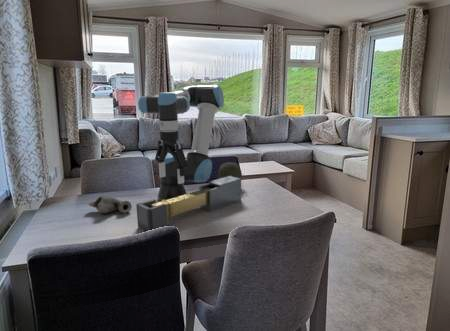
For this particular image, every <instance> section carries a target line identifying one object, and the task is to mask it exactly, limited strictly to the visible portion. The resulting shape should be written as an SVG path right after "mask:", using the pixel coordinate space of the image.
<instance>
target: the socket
mask: <svg viewBox="0 0 450 331" xmlns="http://www.w3.org/2000/svg"><path fill="white" fill-rule="evenodd" d="M155 203H157V200H156V199H155V198H153V199H149V200H144V201H142V202H138V203H136V204H135V206H136V217H137V218H136V219H137V228H138V227H140V228H141V229H140V228H139V229H140V230H142V229H143V230H144V231H143V230H142V231H143V232H145V231H148V230H152V229H156V228H159V227H164V226H168V227H169V222H168V218H167V204H162V205H158V206H155V207H152V208H151V205H152V204H155Z"/></svg>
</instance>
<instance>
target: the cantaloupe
mask: <svg viewBox="0 0 450 331" xmlns="http://www.w3.org/2000/svg"><path fill="white" fill-rule="evenodd" d="M217 176H218V179H220V178H224V177H227V176H233V177H237V178H240V179H241V180H242V178H243V172H242V170H241V167H240V166H239V164H237V163H236V162H231V161H229V162H228V161H227V162H224V163H222V164H221V165H220V167H219V168H218V175H217Z"/></svg>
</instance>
